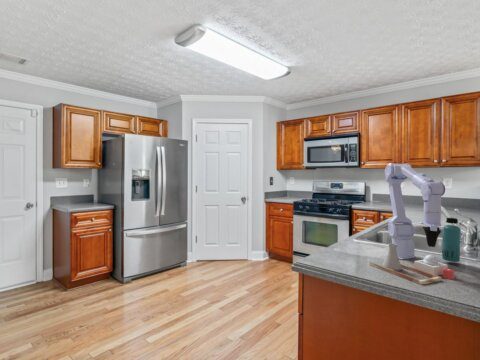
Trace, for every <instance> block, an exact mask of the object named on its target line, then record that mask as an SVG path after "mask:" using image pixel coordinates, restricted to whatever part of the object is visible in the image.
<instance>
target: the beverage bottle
mask: <svg viewBox="0 0 480 360" xmlns="http://www.w3.org/2000/svg"><path fill="white" fill-rule="evenodd" d="M445 223H448V224H446V225H444V226H443V227H442V251H441V256H442V257H441V259H442V260H444V261H445V262H452V263H458V262H460V260H461V227H459V226H457V225H455V224H459V221H458V218H456V217H446V221H445ZM453 224H454V225H453Z"/></svg>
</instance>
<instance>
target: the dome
mask: <svg viewBox="0 0 480 360" xmlns="http://www.w3.org/2000/svg"><path fill="white" fill-rule="evenodd" d="M422 260H423V263H424V264H428V265H431V266H437V265H438V262H439V260H438V258H437V257H436V256H434V255H433V254H427V255H425V256H424V257H423V259H422Z"/></svg>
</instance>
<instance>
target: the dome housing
mask: <svg viewBox="0 0 480 360" xmlns="http://www.w3.org/2000/svg"><path fill="white" fill-rule="evenodd" d="M413 268H416V269H419V270H421V271H424V272H427V273H430V274H433V275H436V276H443V269H445V268H448V269H449V267H448V264H445V263H443V262H439V261H438V265H437V266H431V265H428V264H424V263H423V259H419V260H414V261H413Z"/></svg>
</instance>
